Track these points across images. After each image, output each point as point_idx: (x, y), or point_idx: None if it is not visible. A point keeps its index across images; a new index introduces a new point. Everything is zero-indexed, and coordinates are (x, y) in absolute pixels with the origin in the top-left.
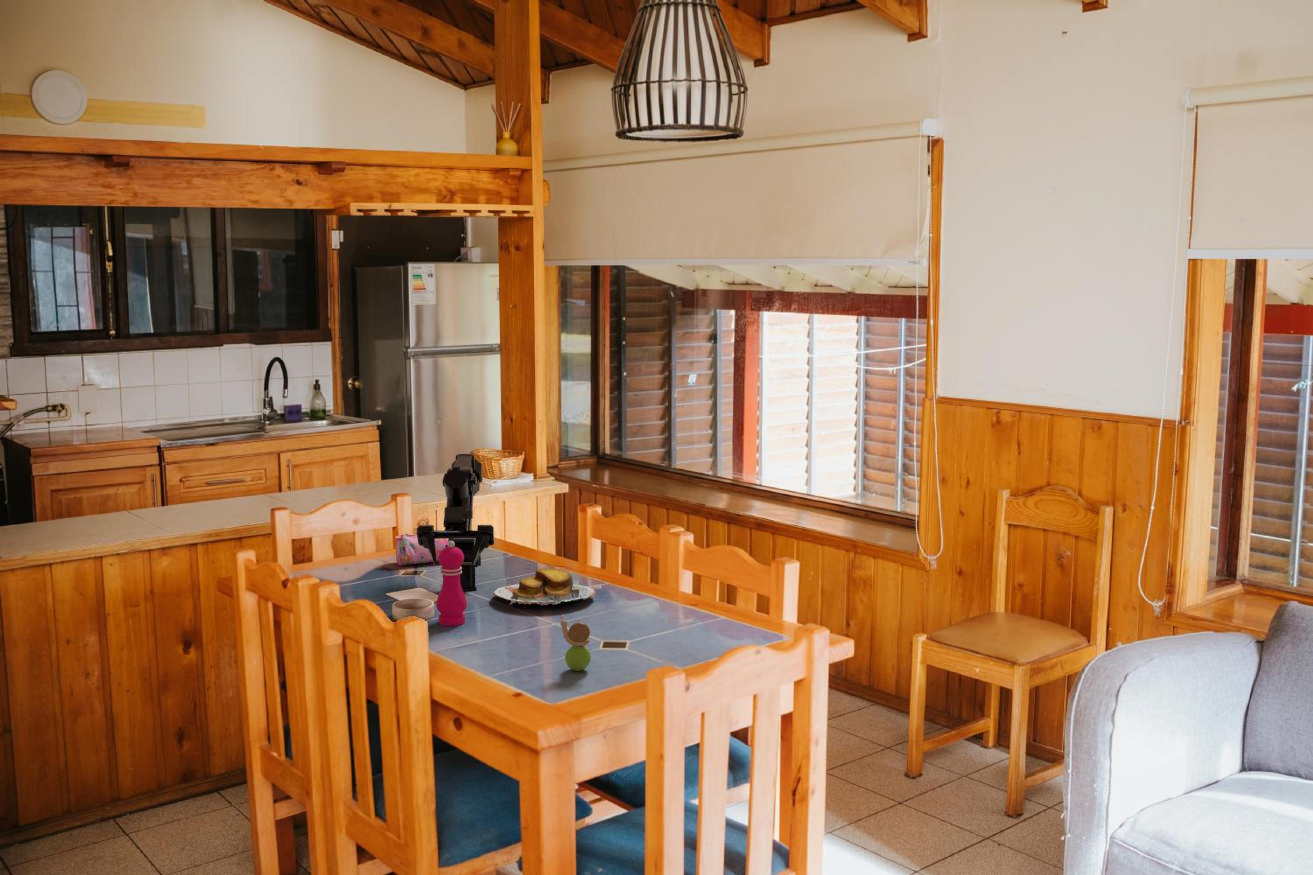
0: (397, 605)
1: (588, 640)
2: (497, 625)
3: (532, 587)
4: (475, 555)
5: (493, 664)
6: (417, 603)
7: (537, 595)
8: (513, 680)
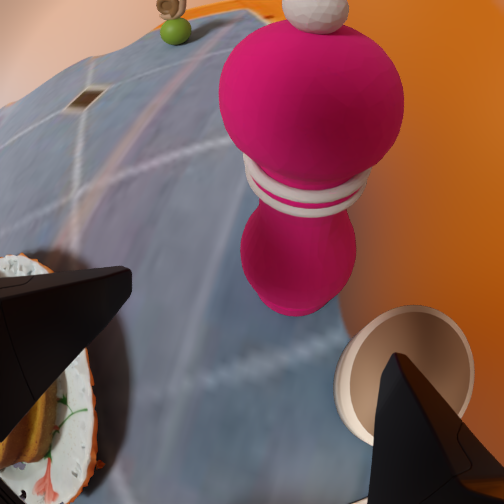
0: (462, 365)
1: (161, 14)
2: (182, 212)
3: None
4: (76, 273)
5: None
6: None
7: None
8: None
